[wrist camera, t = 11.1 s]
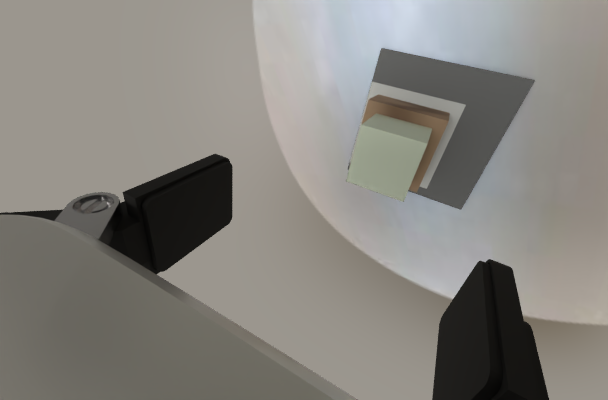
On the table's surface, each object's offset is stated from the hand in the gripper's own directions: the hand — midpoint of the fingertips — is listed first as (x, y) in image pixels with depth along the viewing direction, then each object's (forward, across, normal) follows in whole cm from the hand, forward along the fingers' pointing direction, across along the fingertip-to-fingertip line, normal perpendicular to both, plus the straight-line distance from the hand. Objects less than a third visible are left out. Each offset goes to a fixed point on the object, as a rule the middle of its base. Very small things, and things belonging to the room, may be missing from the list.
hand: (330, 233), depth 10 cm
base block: (+22, +1, +2) cm, 22 cm away
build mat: (+23, -1, +1) cm, 23 cm away
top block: (+18, +1, +2) cm, 18 cm away
